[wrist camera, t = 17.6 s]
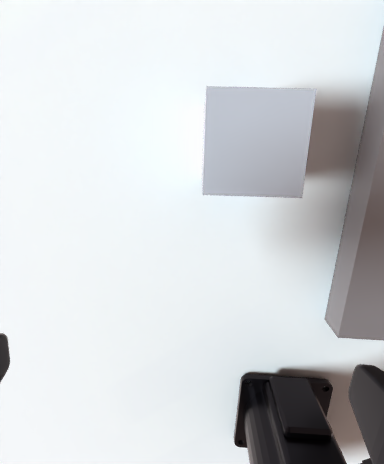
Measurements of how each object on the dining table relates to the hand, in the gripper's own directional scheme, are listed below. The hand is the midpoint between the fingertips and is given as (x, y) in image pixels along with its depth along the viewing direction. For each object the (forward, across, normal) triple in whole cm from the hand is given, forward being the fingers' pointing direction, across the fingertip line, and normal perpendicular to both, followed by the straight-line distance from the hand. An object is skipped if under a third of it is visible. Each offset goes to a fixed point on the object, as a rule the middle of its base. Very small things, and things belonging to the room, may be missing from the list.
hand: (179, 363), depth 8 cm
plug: (+12, -2, -6) cm, 13 cm away
